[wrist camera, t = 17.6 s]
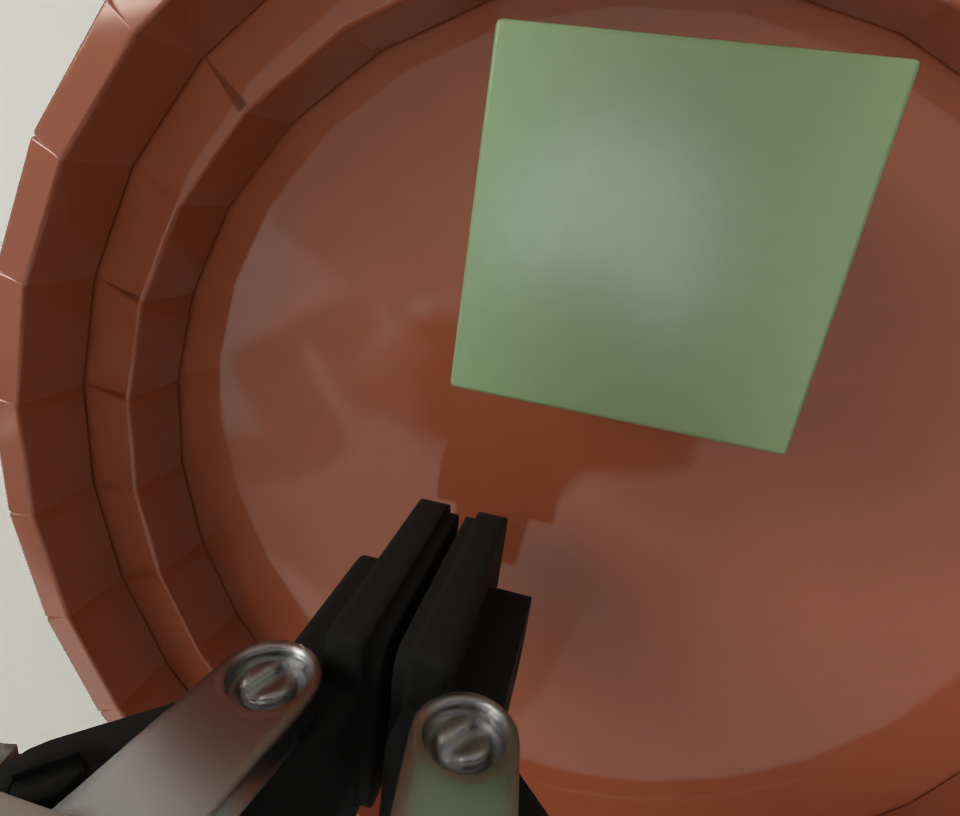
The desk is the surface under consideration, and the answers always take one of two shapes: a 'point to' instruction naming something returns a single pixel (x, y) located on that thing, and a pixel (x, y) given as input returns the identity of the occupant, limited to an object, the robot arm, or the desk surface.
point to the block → (668, 223)
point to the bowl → (473, 408)
